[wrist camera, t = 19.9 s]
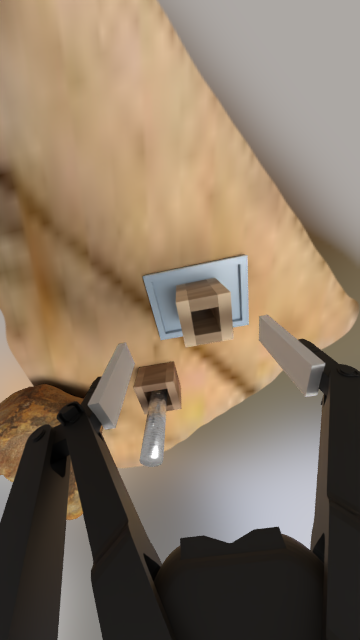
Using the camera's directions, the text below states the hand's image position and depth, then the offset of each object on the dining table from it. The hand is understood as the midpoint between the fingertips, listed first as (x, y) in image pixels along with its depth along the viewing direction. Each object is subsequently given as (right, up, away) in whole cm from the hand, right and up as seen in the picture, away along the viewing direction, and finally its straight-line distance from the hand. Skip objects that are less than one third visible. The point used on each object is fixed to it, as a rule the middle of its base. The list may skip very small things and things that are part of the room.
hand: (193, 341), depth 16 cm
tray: (+2, +5, +11) cm, 12 cm away
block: (+2, +5, +10) cm, 12 cm away
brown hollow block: (-5, -10, +18) cm, 21 cm away
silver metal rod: (-5, -10, +18) cm, 21 cm away
